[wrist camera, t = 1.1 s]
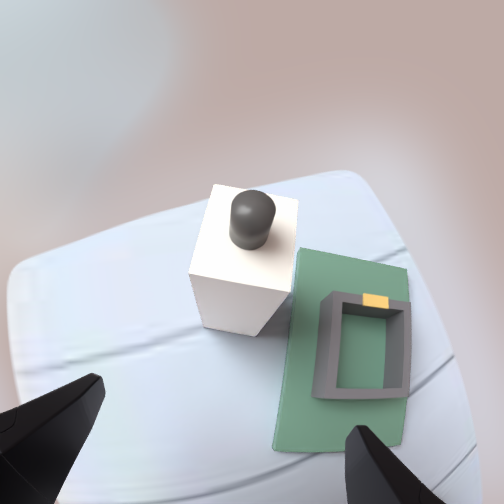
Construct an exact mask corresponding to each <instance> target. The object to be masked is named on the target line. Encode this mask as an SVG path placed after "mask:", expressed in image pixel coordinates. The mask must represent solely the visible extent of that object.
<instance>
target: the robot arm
mask: <svg viewBox="0 0 504 504" xmlns="http://www.w3.org/2000/svg"><path fill="white" fill-rule="evenodd" d="M104 397H105V387H104V383H103V378H102V377H101V376H99V375H97V374H94V373H90V374H88V375H86V376H84V377H81V378H79V379H77V380H75V381H73V382H71V383H69V384H67V385H64V386H62V387H60V388H58V389H56V390H54V391H51V392H49V393H47V394H45V395H43V396H40V397H38V398H36V399H34V400H31V401H29V402H27V403H25V404H22V405H20V406H19V407H15V408H13V409H11V410H8V411H6V412H3V413H0V504H54V503H55V500H56V498H57V496H58V494H59V492H60V490H61V488H62V486H63V484H64V482H65V480H66V478H67V476H68V474H69V472H70V470H71V468H72V466H73V464H74V462H75V460H76V458H77V456H78V454H79V452H80V450H81V448H82V446H83V444H84V443H85V441H86V439H87V437H88V435H89V433H90V431H91V429H92V427H93V425H94V422H95V420H96V417H97V415H98V412H99V410H100V407H101V405H102V402H103V400H104ZM345 482H346V491H347V501H348V504H446V503H444V502H443V501H442V500H441V499H439V498H438V497H437V496H436V495H435V494H433V493H432V492H431V491H430V490H429V489H428V488H427V487H426V486H425V485H424V484H423V483H421V481H420V480H419V479H418V478H417V477H416V476H415V475H414V474H413V473H412V472H411V471H410V470H409V469H408V468H407V467H406V466H405V465H404V464H403V463H402V462H401V461H400V460H399V459H398V458H397V457H396V456H395V455H394V454H393V453H392V451H391V450H390V449H389V448H388V447H387V446H386V445H385V444H384V443H383V442H382V441H381V440H380V439H379V438H378V437H377V436H376V435H375V434H374V432H373V431H372V430H371V429H370V428H369V427H368V426H366V425H356V426H354V428H353V429H352V430H351V432H350V433H349V435H348V436H347V437H346V440H345Z"/></svg>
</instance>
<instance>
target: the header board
mask: <svg viewBox="0 0 504 504" xmlns="http://www.w3.org/2000/svg"><path fill="white" fill-rule="evenodd" d="M410 370H411V302H409V291H408V278H407V269H404V268H400V267H395V266H390V265H385V264H380V263H376V262H371V261H366V260H361V259H356V258H351V257H346V256H341V255H336V254H331V253H326V252H321V251H316V250H311V249H306V248H301V247H300V249H299V251H298V253H297V261H296V272H295V283H294V293H293V302H292V312H291V321H290V329H289V338H288V346H287V354H286V361H285V369H284V376H283V383H282V390H281V396H280V403H279V409H278V415H277V422H276V428H275V433H274V439H273V445H272V448H273V450H274V451H282V452H338V451H345V440H346V437H347V436H348V435H349V433H350V432H351V430H352V429H353V428H354V426H356V425H366V426H368V427H369V428H370V429H371V430H372V431H373V432H374V434H375V435H376V436H377V437H378V438H379V439H380V440H381V441H382V442H383V443H384V444H385V445H386V446H387V447H389V446H395V445H401V439H402V433H403V426H404V419H405V412H406V403H407V397H409V386H410Z"/></svg>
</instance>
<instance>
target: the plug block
mask: <svg viewBox="0 0 504 504" xmlns="http://www.w3.org/2000/svg"><path fill="white" fill-rule="evenodd" d="M297 211H298V200H296V199H291V198H286V197H281V196H276V195H272V194H266V193H263V192H261V191H257V190H245V189H240V188H234V187H228V186H223V185H217V184H214V186H213V189H212V193H211V196H210V199H209V202H208V206H207V209H206V212H205V216H204V219H203V222H202V226H201V229H200V233H199V236H198V240H197V244H196V247H195V251H194V254H193V258H192V262H191V266H190V269H189V277H190V281H191V284H192V288H193V292H194V296H195V299H196V303H197V306H198V310H199V313H200V317H201V320H202V324H203V327H206V328H211V329H216V330H221V331H226V332H231V333H237V334H243V335H249V336H255V337H256V335H257V334H258V333H259V332H260V330H261V329H262V328H263V327H264V325H265V324H266V323H267V322H268V320H269V319H270V318H271V316H272V315H273V314H274V313H275V311H276V310H277V309H278V308H279V306H280V305H281V304H282V302H283V301H284V300H285V298H286V297H287V296H288V294H289V293H290V290H291V280H292V270H293V260H294V249H295V237H296V224H297Z"/></svg>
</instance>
